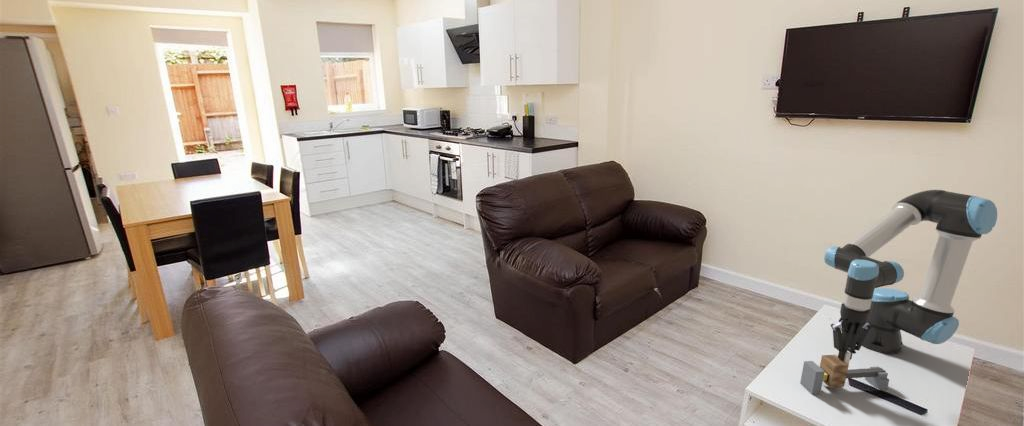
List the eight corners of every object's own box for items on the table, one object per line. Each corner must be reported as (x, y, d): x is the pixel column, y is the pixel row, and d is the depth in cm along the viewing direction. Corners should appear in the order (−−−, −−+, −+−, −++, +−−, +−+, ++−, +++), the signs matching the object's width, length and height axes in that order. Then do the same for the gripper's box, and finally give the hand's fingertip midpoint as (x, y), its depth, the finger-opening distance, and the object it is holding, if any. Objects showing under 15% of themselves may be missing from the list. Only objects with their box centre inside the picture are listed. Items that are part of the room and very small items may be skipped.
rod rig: (872, 378, 164) (877, 356, 161) (886, 389, 158) (892, 367, 156) (800, 383, 162) (804, 361, 160) (811, 394, 157) (816, 371, 154)
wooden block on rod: (831, 375, 162) (835, 354, 160) (844, 386, 157) (848, 364, 154) (817, 376, 162) (821, 355, 160) (830, 387, 156) (834, 365, 154)
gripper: (865, 299, 155) (852, 359, 162) (828, 301, 154) (816, 361, 161) (884, 310, 148) (869, 372, 155) (845, 312, 147) (832, 375, 154)
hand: (842, 367), depth 158 cm, fingers closed
